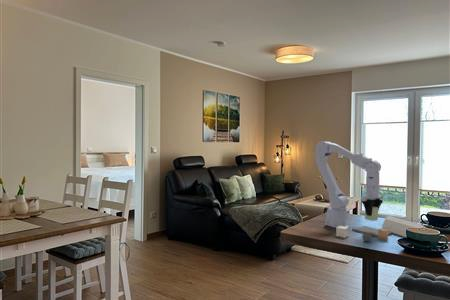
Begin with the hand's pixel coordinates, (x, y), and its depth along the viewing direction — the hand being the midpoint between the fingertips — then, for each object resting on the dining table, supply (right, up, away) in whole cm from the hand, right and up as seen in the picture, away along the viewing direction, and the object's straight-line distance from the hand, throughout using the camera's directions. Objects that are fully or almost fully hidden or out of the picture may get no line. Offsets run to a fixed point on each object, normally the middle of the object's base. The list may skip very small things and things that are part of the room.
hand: (371, 215), depth 154 cm
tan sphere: (0, -9, -10) cm, 13 cm away
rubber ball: (-9, -9, -14) cm, 19 cm away
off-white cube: (-16, -8, -6) cm, 19 cm away
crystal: (+14, -9, -3) cm, 17 cm away
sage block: (0, -2, 0) cm, 2 cm away
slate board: (0, -8, 0) cm, 8 cm away
